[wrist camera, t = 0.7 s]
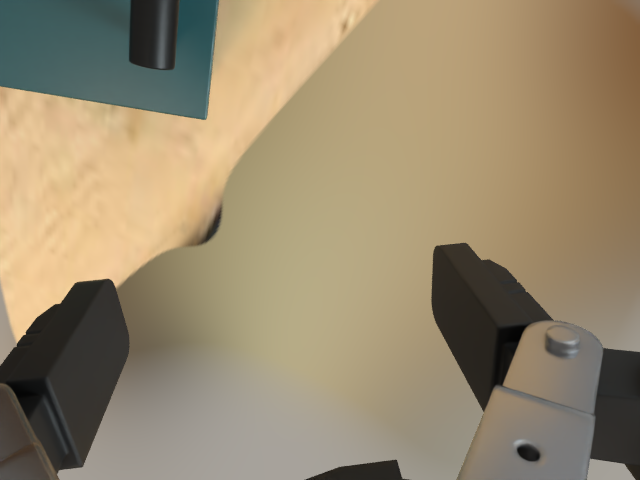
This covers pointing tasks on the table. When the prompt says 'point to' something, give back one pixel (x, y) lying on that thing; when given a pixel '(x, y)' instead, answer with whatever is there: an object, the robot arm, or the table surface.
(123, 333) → the robot arm
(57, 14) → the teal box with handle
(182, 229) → the table surface
